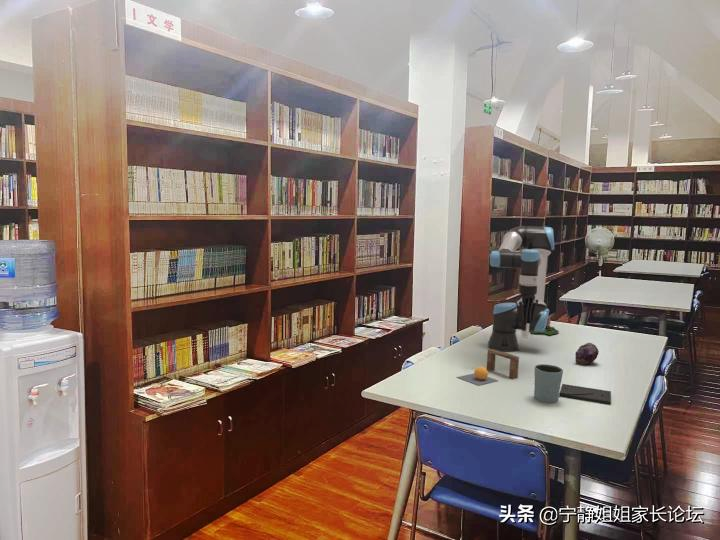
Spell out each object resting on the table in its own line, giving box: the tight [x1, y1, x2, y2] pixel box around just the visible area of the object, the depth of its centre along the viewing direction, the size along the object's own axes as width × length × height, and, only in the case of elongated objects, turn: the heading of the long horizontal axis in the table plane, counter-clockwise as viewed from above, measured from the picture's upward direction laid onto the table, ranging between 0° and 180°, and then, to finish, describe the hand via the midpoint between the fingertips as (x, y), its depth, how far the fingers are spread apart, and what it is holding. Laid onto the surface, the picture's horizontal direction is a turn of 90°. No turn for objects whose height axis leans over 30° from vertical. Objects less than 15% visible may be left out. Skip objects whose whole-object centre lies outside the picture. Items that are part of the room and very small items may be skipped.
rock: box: [574, 342, 600, 366], centre depth 251 cm, size 12×9×10 cm
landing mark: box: [456, 373, 499, 387], centre depth 222 cm, size 12×12×1 cm
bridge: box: [486, 348, 520, 380], centre depth 230 cm, size 3×14×9 cm, turn 35°
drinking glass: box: [533, 363, 564, 404], centre depth 200 cm, size 10×10×12 cm
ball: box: [473, 366, 489, 380], centre depth 221 cm, size 6×6×6 cm
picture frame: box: [559, 383, 612, 406], centre depth 206 cm, size 13×2×18 cm
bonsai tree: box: [519, 283, 559, 336], centre depth 311 cm, size 35×24×32 cm
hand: (524, 337), depth 237 cm, fingers closed
